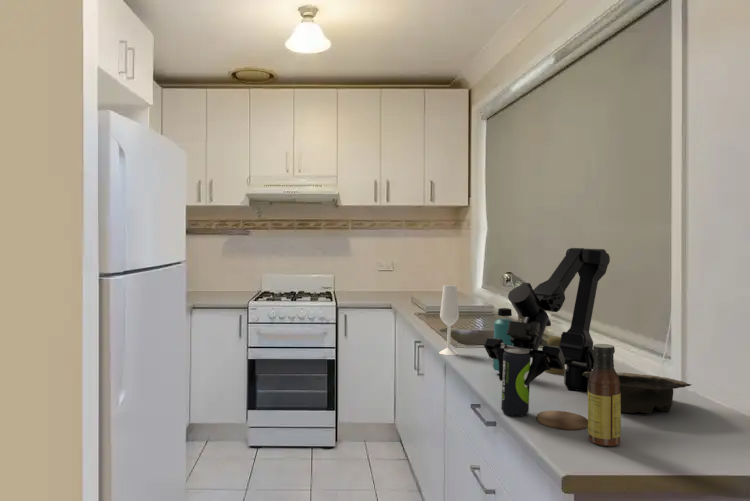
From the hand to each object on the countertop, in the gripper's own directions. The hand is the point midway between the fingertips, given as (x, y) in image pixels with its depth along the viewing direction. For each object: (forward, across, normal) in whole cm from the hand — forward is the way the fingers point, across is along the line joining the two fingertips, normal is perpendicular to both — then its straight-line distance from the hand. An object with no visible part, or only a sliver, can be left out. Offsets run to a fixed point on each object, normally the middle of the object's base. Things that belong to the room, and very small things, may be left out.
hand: (512, 382), depth 133 cm
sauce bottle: (+9, +22, +2) cm, 24 cm away
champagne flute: (-31, -46, +42) cm, 70 cm away
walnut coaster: (+4, +11, +7) cm, 14 cm away
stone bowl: (-14, +20, +25) cm, 35 cm away
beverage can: (+4, 0, +6) cm, 8 cm away
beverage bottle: (-20, -18, +31) cm, 41 cm away
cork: (-29, -7, +40) cm, 50 cm away
